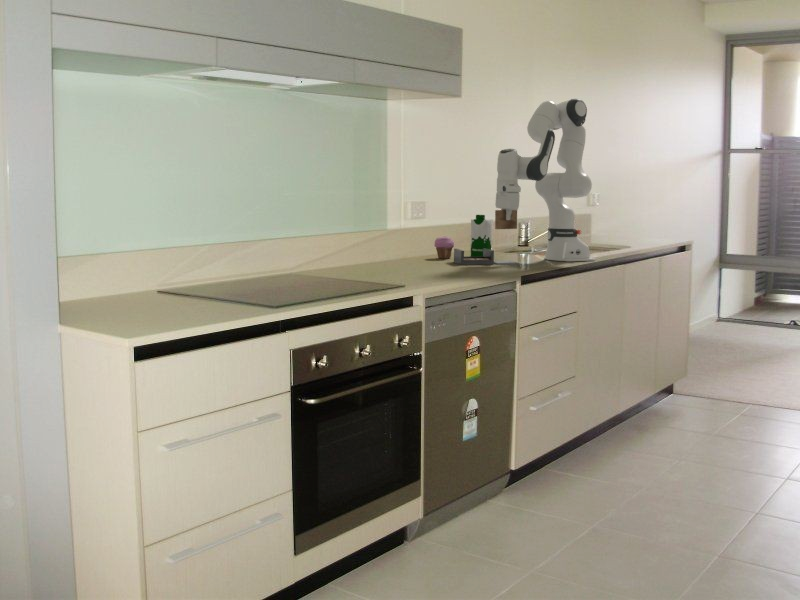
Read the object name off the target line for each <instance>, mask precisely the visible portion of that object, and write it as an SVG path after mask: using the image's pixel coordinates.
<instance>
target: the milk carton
mask: <svg viewBox="0 0 800 600" xmlns="http://www.w3.org/2000/svg"><path fill="white" fill-rule="evenodd" d="M493 221H494V220H493V219H491V218H490V219H489V218H488V219H487V218H486V215H485V214H475V218H472V219H470V256H483V248H486V249H490V250H492V241H493V239H492V237H493V224H494V223H493Z"/></svg>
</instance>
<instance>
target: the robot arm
mask: <svg viewBox="0 0 800 600" xmlns="http://www.w3.org/2000/svg"><path fill="white" fill-rule="evenodd" d="M587 112H588V109H587V105H586V103H585V102H584V101H583V100H582V99H580V98H571V99H569V100H566V101H562V102H559V103H555V102H553V101H550V100H546V101H543V102H541V103H540V104H539V105H538V107H537V108H536V109H535V111H534V112H533V114H532V115H531V118H530V119H529V121H528V124H527V127H526V129H527V134H528V135H529V137H530V138H531V139H532V140H533V141H534V142H536V143H538V144H540V146H539V150H538V153H537V154H536V155H534V156H529V157H528V156H521V155H519V154H518V150H517V149H515V148H506V149H501V150H500V151H499V153H498V155H497V156H498V157H497V163H496V165H497V166H496V169H497V170H496V171H497V178H496V192H495V193H496V194H495V208H496V209H499V210H506V216H505V220H510V216H511V213H512V210H517V211H518V210H519V207H520V197H521V196H520V193H521V190H522V189H521V186H520V185H519V183H518V181H519V180H522V181H524V180H526V181H534V182H535V184H534V185H535V186H534V187H535V191H536V193H537V194H538V195H539V196H540V197H541V198H542V199H543V200H544V202H545V204H546V207H547V210H548V216H549V217H548V219H549V220H548V223H549V224H548V228H547V246H546V251H545V255H544V259H545V260H548V261H559V262H560V261H561V262H585V261H586V262H587V261H588V262H589V261H592V262H593V261H595V257H593V256H591V252H590V247H589V246H588V244H587V243H585V242H584V241H583V240H582V239H580V238H579V237H578V235H581V234H582V230H581V229H576V228H575V211H574V209H573V208H572V207H570V206H568V205H567V204H566V203H565V202H564V198H567V199H569V198H570V199H577V198H578V199H579V198H583V197H587V196H588V195H589V194H590V192H591V190H592V188H593V187H592V185H593V183H592V180H591V178H590V177H589V175H588V174H587V173H586V172H585V171H584V169H583V163H582V161H583V155H584V150H585V145H586V137H587V136H586V135H587V134H586V128H585V126H583V125H584V124H585V122H586V118H587V114H588V113H587ZM559 129H561V130H562V135H561V138H560V142H559V147H558V151H557V155H556V162H557V163H558V165H559V166H560V167H561V168H563V169H564V170H565V171H564V172H548V169H549V163H550V162H549V161H550V159H551V155H552V151H553V149H554V145H555V141H556V136H555V135H556V133H555V131H554V130H556V131H557V130H559Z"/></svg>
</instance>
